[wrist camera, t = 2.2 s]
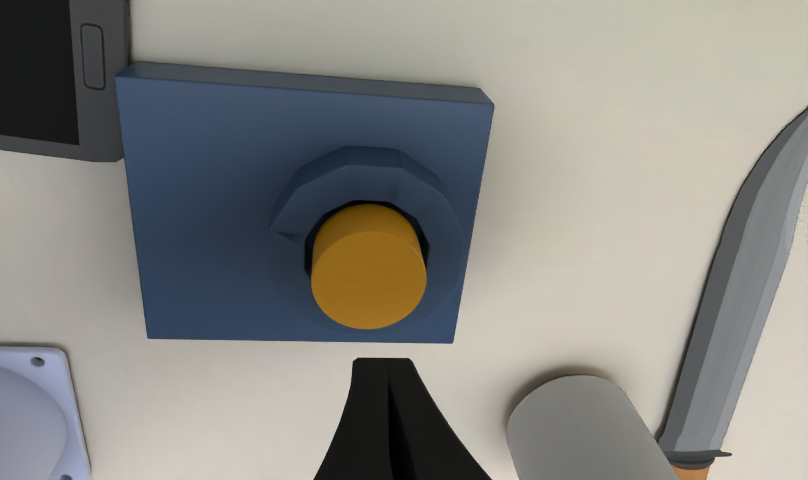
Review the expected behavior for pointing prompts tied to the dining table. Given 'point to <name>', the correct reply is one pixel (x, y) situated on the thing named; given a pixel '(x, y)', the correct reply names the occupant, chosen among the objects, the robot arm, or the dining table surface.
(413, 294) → the trigger button
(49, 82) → the cell phone
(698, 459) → the knife
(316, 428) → the dining table surface
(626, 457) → the beverage can
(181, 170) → the button housing
